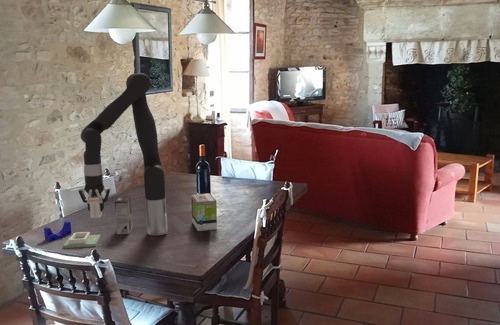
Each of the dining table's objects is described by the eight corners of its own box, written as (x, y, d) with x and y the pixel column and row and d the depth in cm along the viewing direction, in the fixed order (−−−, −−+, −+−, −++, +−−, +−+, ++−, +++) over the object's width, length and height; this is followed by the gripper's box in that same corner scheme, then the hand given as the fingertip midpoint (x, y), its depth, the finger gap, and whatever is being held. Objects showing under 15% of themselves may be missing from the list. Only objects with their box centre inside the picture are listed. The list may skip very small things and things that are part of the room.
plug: (102, 213, 220) (101, 194, 218) (99, 218, 214) (98, 198, 212) (93, 214, 219) (91, 194, 218) (90, 218, 214) (88, 198, 212)
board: (100, 236, 229) (100, 230, 228) (95, 246, 217) (95, 239, 216) (70, 238, 227) (69, 231, 227) (63, 248, 216) (62, 241, 215)
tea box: (217, 229, 236) (216, 200, 233) (197, 231, 234) (196, 202, 231) (211, 220, 251) (210, 192, 248) (191, 222, 248) (190, 194, 245)
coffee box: (119, 228, 241) (117, 196, 237) (132, 227, 241) (130, 196, 238) (116, 234, 232) (114, 201, 228) (130, 233, 232) (128, 201, 229)
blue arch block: (50, 242, 224) (49, 229, 223) (45, 240, 226) (43, 227, 225) (73, 234, 233) (72, 222, 232) (67, 232, 236) (66, 220, 235)
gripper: (111, 171, 218) (113, 208, 221) (78, 172, 216) (81, 209, 219) (108, 174, 210) (111, 213, 214) (74, 175, 209) (77, 214, 212)
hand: (96, 210), depth 217 cm, fingers closed on plug, 4 cm apart
